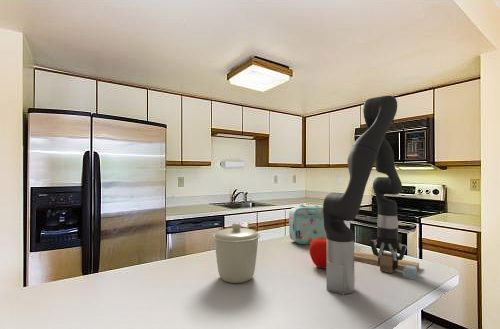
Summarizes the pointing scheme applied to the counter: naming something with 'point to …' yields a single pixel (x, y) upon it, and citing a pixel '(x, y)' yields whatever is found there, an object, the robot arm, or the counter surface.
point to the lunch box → (306, 224)
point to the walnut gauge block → (386, 262)
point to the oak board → (374, 260)
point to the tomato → (319, 252)
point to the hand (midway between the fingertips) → (388, 267)
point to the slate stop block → (410, 272)
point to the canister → (236, 253)
